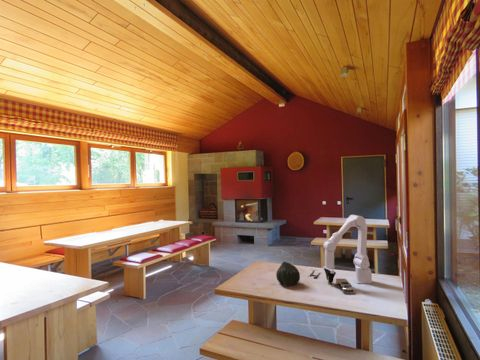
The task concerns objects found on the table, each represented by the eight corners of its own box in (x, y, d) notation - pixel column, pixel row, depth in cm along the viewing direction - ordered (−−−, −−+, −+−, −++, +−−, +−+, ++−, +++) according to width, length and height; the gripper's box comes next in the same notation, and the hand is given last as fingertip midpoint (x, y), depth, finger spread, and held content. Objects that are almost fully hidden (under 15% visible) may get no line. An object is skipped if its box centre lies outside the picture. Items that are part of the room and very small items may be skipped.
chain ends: (345, 284, 193) (345, 278, 193) (354, 294, 176) (354, 288, 176) (335, 284, 193) (335, 278, 193) (343, 294, 176) (343, 288, 176)
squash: (305, 279, 187) (297, 257, 196) (283, 282, 183) (276, 260, 192) (298, 288, 197) (290, 267, 206) (277, 292, 193) (270, 270, 202)
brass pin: (331, 283, 194) (331, 274, 194) (332, 284, 192) (332, 275, 192) (327, 283, 194) (327, 274, 194) (328, 284, 192) (328, 275, 192)
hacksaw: (316, 279, 203) (316, 277, 203) (301, 277, 208) (301, 275, 208) (323, 270, 225) (323, 268, 225) (310, 268, 229) (310, 266, 229)
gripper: (320, 257, 201) (320, 277, 200) (326, 263, 186) (326, 285, 186) (331, 257, 200) (331, 277, 200) (337, 263, 186) (337, 285, 186)
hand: (329, 281), depth 193 cm, fingers open, 5 cm apart
